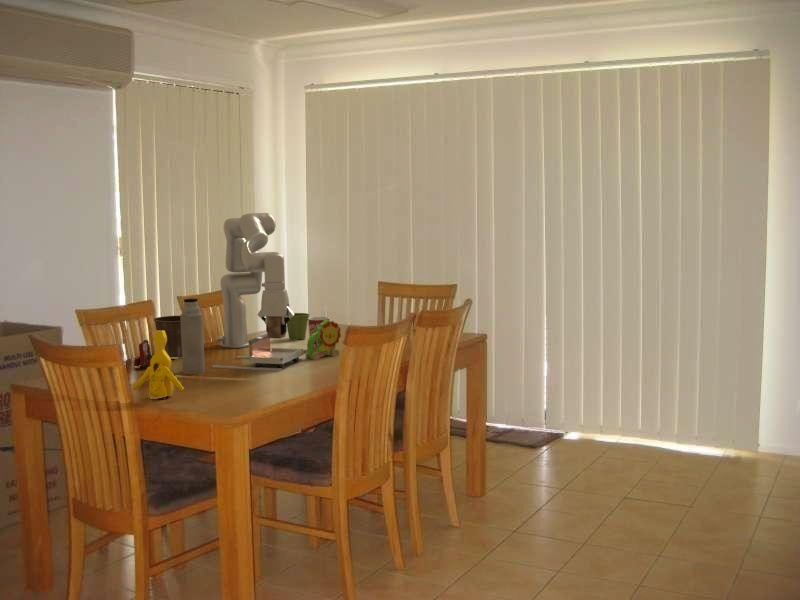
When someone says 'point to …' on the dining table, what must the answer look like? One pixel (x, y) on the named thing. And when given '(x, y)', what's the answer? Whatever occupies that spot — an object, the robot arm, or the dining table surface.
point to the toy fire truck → (144, 354)
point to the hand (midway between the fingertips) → (276, 333)
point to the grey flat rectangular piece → (249, 367)
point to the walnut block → (274, 327)
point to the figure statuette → (159, 370)
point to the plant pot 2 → (297, 326)
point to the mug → (315, 327)
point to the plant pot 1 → (171, 334)
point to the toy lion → (324, 340)
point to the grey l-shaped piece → (270, 353)
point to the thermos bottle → (192, 338)
